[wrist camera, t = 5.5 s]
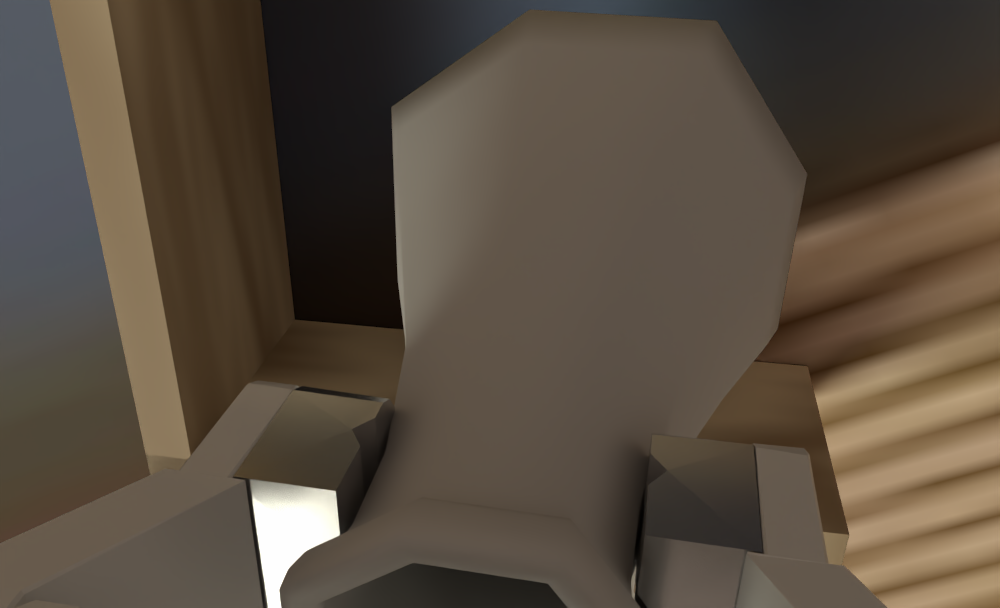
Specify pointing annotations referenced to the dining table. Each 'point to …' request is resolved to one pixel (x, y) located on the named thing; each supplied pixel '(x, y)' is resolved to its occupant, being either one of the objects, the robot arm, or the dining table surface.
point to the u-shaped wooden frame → (260, 239)
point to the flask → (561, 307)
